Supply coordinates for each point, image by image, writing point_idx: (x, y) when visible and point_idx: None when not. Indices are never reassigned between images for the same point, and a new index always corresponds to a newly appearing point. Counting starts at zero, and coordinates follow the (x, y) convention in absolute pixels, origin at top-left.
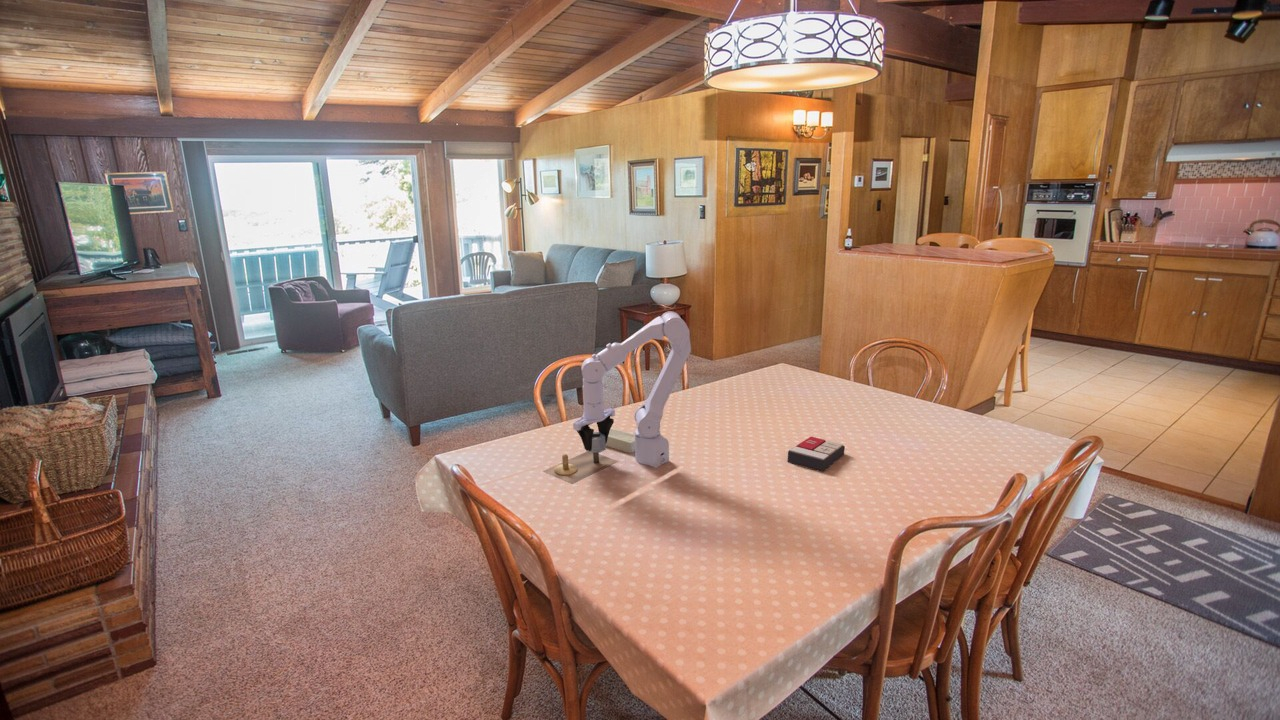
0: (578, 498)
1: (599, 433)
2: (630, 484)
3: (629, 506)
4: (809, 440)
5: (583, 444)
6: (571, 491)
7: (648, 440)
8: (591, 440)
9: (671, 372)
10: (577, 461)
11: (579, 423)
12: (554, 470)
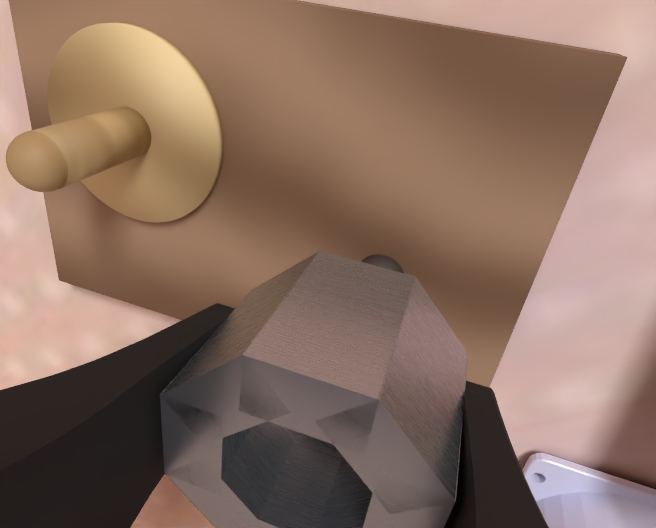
0: (39, 345)
1: (392, 514)
2: None
3: (140, 524)
4: None
5: (176, 324)
6: (49, 286)
7: None
8: (150, 481)
9: None
10: (311, 115)
11: None
12: (54, 61)
